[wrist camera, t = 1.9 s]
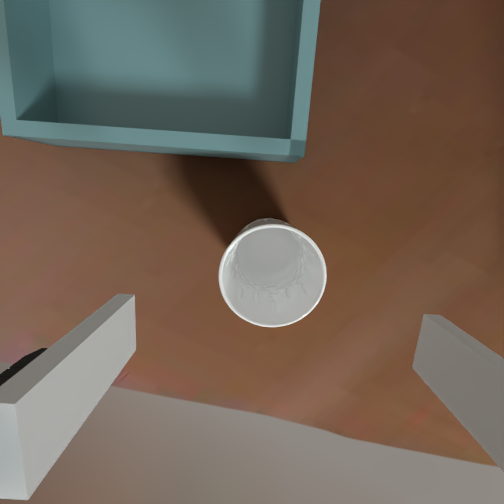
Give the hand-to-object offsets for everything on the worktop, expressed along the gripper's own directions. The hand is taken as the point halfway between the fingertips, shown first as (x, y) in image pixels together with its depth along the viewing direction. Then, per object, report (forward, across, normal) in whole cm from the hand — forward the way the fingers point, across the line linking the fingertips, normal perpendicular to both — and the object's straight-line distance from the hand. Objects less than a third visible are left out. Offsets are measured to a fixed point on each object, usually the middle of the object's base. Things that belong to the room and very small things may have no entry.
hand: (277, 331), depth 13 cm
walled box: (+18, +10, -19) cm, 28 cm away
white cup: (+18, 0, 0) cm, 18 cm away
